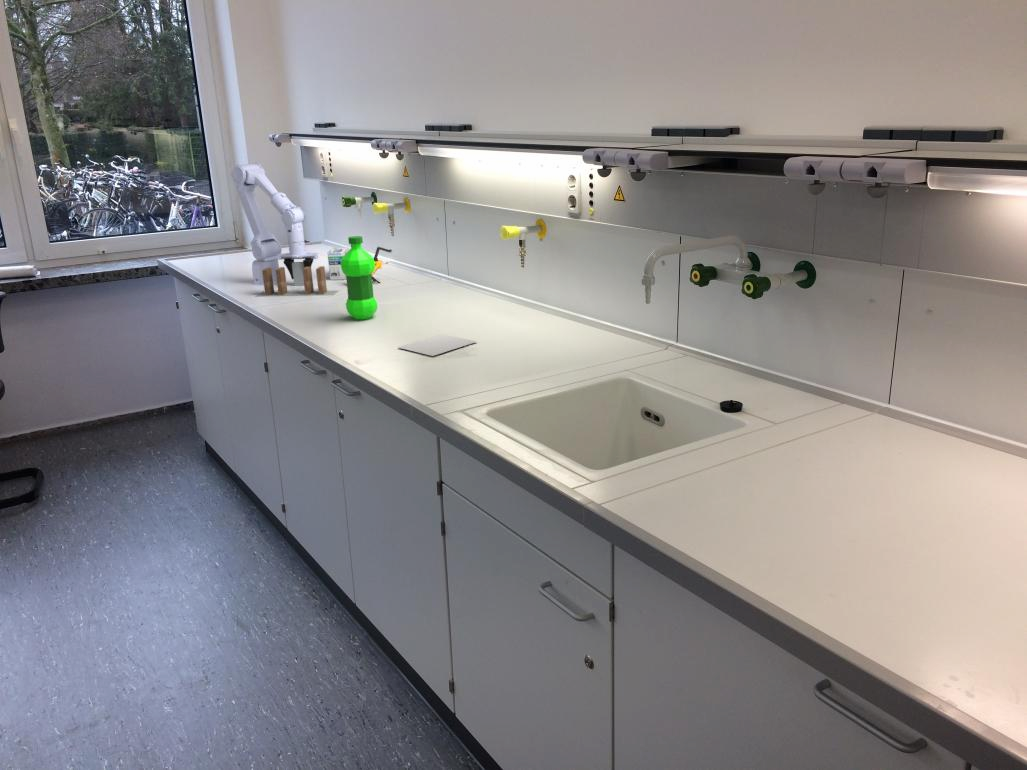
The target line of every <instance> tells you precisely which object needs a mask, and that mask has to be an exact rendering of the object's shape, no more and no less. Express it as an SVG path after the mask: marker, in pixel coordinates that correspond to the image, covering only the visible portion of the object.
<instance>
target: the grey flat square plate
mask: <svg viewBox="0 0 1027 770" xmlns="http://www.w3.org/2000/svg"><path fill="white" fill-rule="evenodd" d="M474 343H478V341H476V340H471V339H468V338H467V339H466V338H463V337H458V336H453V335H448V334H444V333H440V334H438V335H435V336H431V337H427V338H424V339H421V340H417V341H414V342H411V343H407V344H404V345H400V346H398V347H397V348H398V349H401V350H402V349H403V350H407V351H411V352H415V353H419V354H421V355H422V354H423V355H428V356H430V357H434V356H437V355H440V354H444V353H446V352H449V351H452V350H455V349H456V350H457V349H459V348H462V347H466V346H468V345H471V344H474Z"/></svg>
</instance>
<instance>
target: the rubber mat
mask: <svg viewBox="0 0 1027 770" xmlns="http://www.w3.org/2000/svg"><path fill="white" fill-rule="evenodd" d="M339 292H340V290H327V292H326V293H324V294H322V295H319V292H318V290H314V292H313V293H311V294H310V295H305V290H299V291H298V290H293V291H292V290H291V291H290V290H289V291H288V290H287V293H286V294H284V295H279V294H278V291H274V293H273V294H271V295H266V296H265V291H261V292H260V293H258V294H257V295H255V297H257V298H259V297H304V296H306V297H314V296H316V297H317V296H318V297H319V296H334V295H335V294H337V293H339Z"/></svg>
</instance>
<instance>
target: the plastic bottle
mask: <svg viewBox="0 0 1027 770" xmlns="http://www.w3.org/2000/svg"><path fill="white" fill-rule="evenodd" d="M347 238H348V239H347V240H348V244H349V245H350V249H349V251H348V252H347V253H346V254H345V255H344V256H343V257H342V259H341V269H342V272H343V273H344V274H345V275H346V279H345V281H346V289H347V290H346V291H347V299H346V303H345V308H346V311H347V313H348V315H350V316H351V317H352V318H354V320H359V321H363V320H367V319H368V320H369V319H370V318H371V319H372V317H373V316H374V314H376V312H377V309H378V302H377V300H376V297H374V286H373V280H372V276H373V275H372V273H373V272H374V270H375V261H374V256H372V255H371V254H370V253H369V252H368V251H366V249H364V248H362V244H363V243H364V242H363V236H360V235H356V236H355V235H353V236H349V237H347Z"/></svg>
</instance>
